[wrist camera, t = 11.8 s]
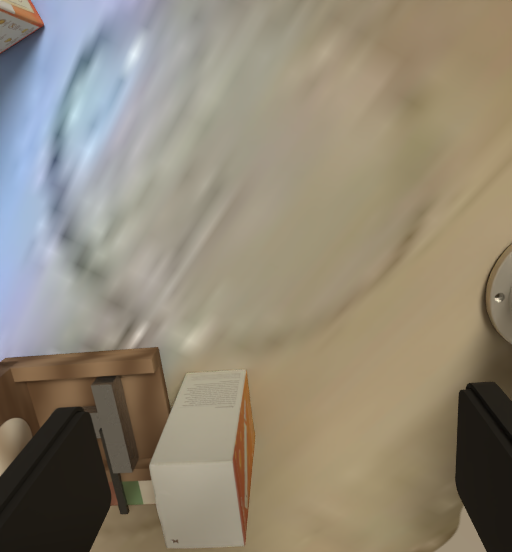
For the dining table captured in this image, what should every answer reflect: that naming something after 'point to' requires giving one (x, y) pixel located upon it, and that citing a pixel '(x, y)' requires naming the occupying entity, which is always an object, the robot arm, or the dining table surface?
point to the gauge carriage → (114, 431)
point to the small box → (205, 462)
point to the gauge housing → (85, 403)
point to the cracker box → (17, 22)
